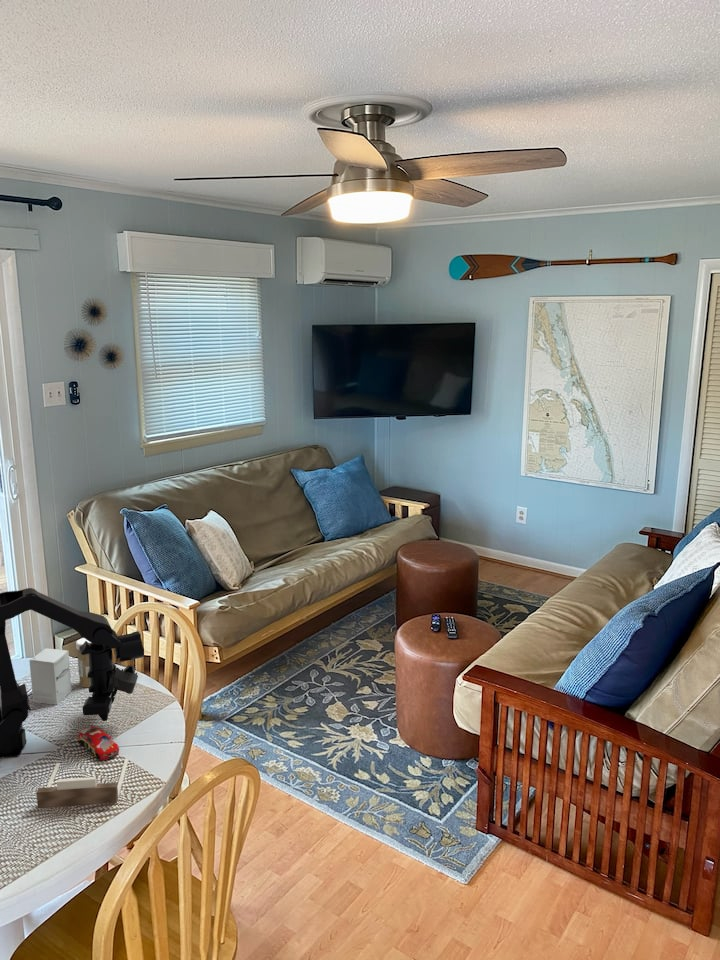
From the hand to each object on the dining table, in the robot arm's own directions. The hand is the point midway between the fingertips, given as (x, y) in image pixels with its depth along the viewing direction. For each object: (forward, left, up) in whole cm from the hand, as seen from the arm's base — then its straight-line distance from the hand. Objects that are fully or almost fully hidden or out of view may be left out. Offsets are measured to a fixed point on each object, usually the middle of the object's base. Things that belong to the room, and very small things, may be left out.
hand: (105, 720), depth 187 cm
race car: (0, -10, -2) cm, 10 cm away
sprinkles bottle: (-9, +22, -2) cm, 24 cm away
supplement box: (-17, +16, -2) cm, 23 cm away
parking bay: (0, -23, -1) cm, 23 cm away
